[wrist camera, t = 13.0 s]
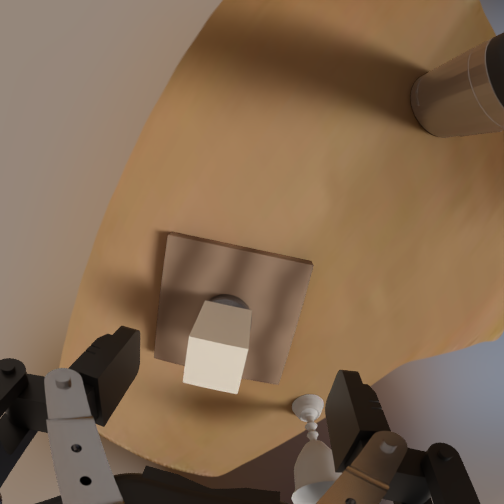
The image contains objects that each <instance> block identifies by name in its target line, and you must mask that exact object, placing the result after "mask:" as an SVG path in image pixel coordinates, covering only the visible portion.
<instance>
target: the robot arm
mask: <svg viewBox="0 0 504 504" xmlns="http://www.w3.org/2000/svg"><path fill="white" fill-rule="evenodd" d="M411 105H412V109H413V112H414V114H415V116H416V118H417V120H418V121H419V123H420V124H421V126H422V127H423V128H424V129H426V130H427V131H428V132H429V133H431V134H432V135H435V136H437V137H443V138H446V137H453V136H469V135H476V134H484V133H493V132H500V131H501V130H504V33H502V34H500V35H498V36H496V37H494V38H492V39H490V40H488V41H486V42H484V43H482V44H480V45H478V46H476V47H474V48H472V49H470V50H469V51H467V52H465V53H463V54H461V55H459V56H457V57H455V58H454V59H452V60H450V61H448V62H446V63H444V64H443V65H441V66H439V67H437V68H435V69H433V70H432V71H430V72H428V73H426V74H425V75H423V76H421V77H420V78H418V79H417V80H416V81H415V83H414V85H413V87H412V90H411ZM139 365H140V331H139V330H136V329H132V328H129V327H125V326H121V327H120V328H119V329H118V330H117V331H116V332H115V333H114V334H113V335H110V334H106V335H104V336H101V337H99V338H97V339H96V340H95V341H94V342H93V343H92V344H91V346H89V348H88V349H87V350H86V352H84V353H83V354H82V355H81V356H80V357H79V358H78V359H77V360H76V361H75V362H74V363H73V364H72V365H71V366H70V367H69V368H68V369H67V368H59V369H55V370H52V371H50V372H49V373H48V374H47V375H46V376H45V377H43V376H37V375H32V374H27V373H26V368H25V366H24V364H23V363H22V362H21V361H19V360H16V359H11V358H9V359H2V360H0V417H1V416H2V415H3V413H4V412H6V413H5V414H4V415H3V416H2V417H1V419H0V487H1V486H2V484H3V483H4V481H5V480H6V478H7V477H8V475H9V473H10V472H11V470H12V469H13V467H14V466H15V464H16V463H17V461H18V460H19V458H20V457H21V455H22V454H23V452H24V451H25V449H26V447H27V446H28V445H29V443H30V442H31V440H32V439H33V438H34V436H35V435H36V433H37V432H38V431H41V432H46V433H48V436H49V442H50V448H51V454H52V459H53V464H54V469H55V473H56V478H57V482H58V486H59V490H60V494H61V495H60V496H57V497H54V498H51V499H49V500H45V501H43V502H39V503H36V504H288V503H286V502H283V501H280V492H277V491H267V490H258V489H251V488H235V489H211V488H207V487H205V486H203V485H200V484H198V483H196V482H193V481H191V480H189V479H187V478H184V477H182V476H180V475H178V474H174V473H171V472H167V471H163V470H160V469H156V468H153V467H149V466H146V467H145V469H144V472H143V474H141V473H125V474H118V475H114V476H113V474H112V472H111V469H110V466H109V463H108V460H107V458H106V455H105V452H104V449H103V446H102V443H101V440H100V437H99V434H98V431H97V427H96V424H98V425H101V426H103V427H104V426H105V425H106V423H107V421H108V420H109V418H110V417H111V415H112V413H113V412H114V410H115V409H116V407H117V405H118V404H119V402H120V401H121V399H122V397H123V396H124V394H125V393H126V391H127V390H128V388H129V386H130V385H131V383H132V382H133V380H134V379H135V377H136V375H137V373H138V370H139ZM381 408H382V407H381V405H380V403H379V400H378V398H377V395H376V393H375V391H374V390H372V388H371V387H370V386H369V385H368V384H363V383H362V380H361V378H360V375H359V373H358V372H356V371H347V370H339V371H338V373H337V375H336V378H335V380H334V383H333V386H332V388H331V391H330V393H329V396H328V398H327V401H326V407H325V414H326V419H327V425H328V431H329V437H330V443H331V449H332V455H333V461H334V467H335V473H342V474H341V475H340V476H339V478H338V479H337V480H336V481H335V482H334V483H333V485H332V486H331V487H330V488H329V489H328V490H327V492H326V493H325V494H324V495H323V496H322V497H321V498H320V499H319V500H318V502H317V503H316V504H380V502H381V501H382V499H386V500H391V501H393V502H394V504H480V502H479V499H478V497H477V494H476V492H475V490H474V487H473V485H472V483H471V480H470V478H469V476H468V473H467V471H466V469H465V466H464V464H463V462H462V460H461V458H460V455H459V453H458V452H457V451H456V450H455V449H454V448H453V447H452V446H450V445H448V444H445V443H435V444H432V445H431V446H430V447H429V449H428V450H427V451H426V452H425V451H420V450H415V449H410V448H408V447H407V443H406V442H405V440H404V439H403V438H402V437H401V436H400V435H398V434H396V433H394V432H391V430H390V428H389V425H388V423H387V420H386V418H385V415H384V412H383V410H381ZM431 497H432V500H433V503H432V500H431ZM0 504H2V496H1V493H0Z"/></svg>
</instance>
